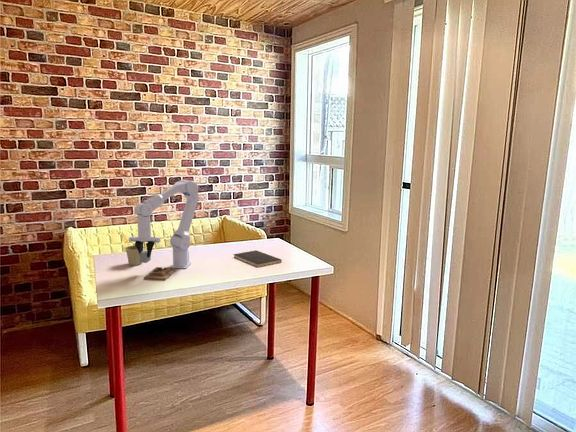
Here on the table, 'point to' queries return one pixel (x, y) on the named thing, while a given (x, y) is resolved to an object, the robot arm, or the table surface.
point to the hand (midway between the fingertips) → (145, 256)
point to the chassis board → (159, 274)
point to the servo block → (144, 257)
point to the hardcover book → (257, 258)
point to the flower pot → (133, 255)
